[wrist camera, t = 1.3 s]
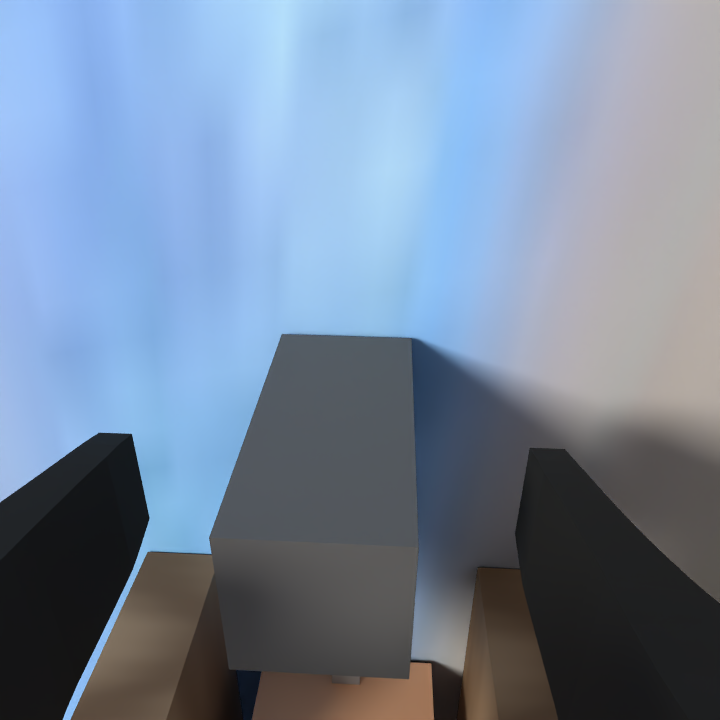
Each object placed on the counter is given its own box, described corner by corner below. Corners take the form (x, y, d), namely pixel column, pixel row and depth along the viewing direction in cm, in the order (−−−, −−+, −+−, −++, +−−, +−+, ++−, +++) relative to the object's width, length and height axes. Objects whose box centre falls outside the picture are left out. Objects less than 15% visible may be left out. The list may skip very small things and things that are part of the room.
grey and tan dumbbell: (462, 339, 14) (503, 551, 8) (421, 757, 21) (429, 1001, 16) (231, 332, 14) (128, 534, 9) (275, 748, 22) (234, 987, 16)
